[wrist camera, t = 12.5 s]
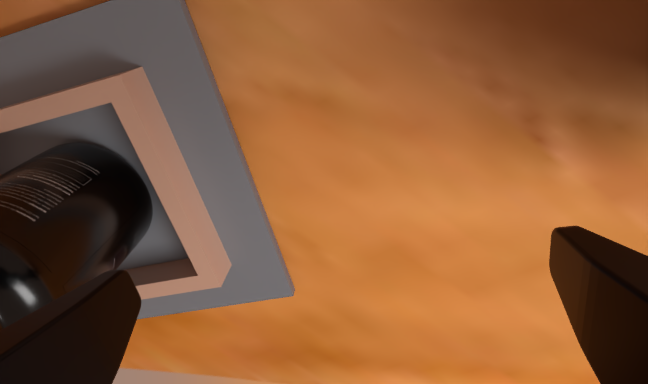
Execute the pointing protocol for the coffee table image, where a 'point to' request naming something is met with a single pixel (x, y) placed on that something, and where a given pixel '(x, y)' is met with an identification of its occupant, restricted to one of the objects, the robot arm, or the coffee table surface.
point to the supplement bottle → (66, 224)
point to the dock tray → (148, 145)
